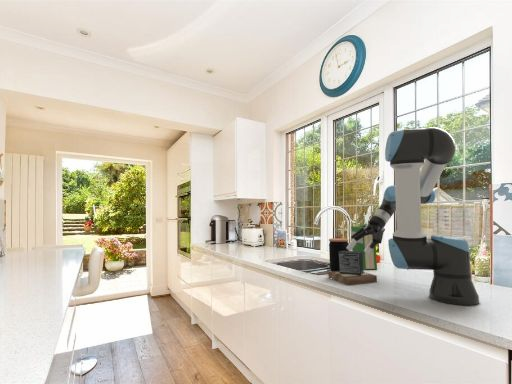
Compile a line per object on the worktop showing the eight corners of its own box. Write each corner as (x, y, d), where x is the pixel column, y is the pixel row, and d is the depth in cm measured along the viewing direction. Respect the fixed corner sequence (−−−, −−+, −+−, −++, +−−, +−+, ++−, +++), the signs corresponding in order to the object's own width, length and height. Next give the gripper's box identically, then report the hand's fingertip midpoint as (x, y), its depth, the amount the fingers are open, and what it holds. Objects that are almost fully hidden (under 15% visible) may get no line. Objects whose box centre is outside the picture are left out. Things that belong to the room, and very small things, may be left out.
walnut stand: (376, 282, 131) (376, 275, 131) (347, 285, 126) (347, 278, 127) (355, 275, 146) (355, 268, 147) (328, 277, 142) (328, 271, 142)
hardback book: (377, 270, 158) (375, 227, 160) (364, 270, 158) (362, 227, 160) (364, 264, 175) (362, 226, 177) (353, 264, 175) (351, 226, 177)
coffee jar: (351, 273, 150) (349, 240, 151) (330, 273, 152) (329, 240, 154) (348, 269, 160) (347, 238, 162) (329, 269, 163) (328, 238, 164)
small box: (364, 273, 137) (363, 251, 137) (361, 275, 131) (360, 253, 132) (342, 270, 142) (341, 250, 143) (338, 273, 137) (337, 251, 138)
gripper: (402, 225, 134) (379, 259, 128) (367, 224, 158) (346, 253, 152) (393, 214, 133) (369, 248, 127) (358, 215, 156) (337, 243, 151)
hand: (356, 251), depth 139 cm, fingers open, 13 cm apart
